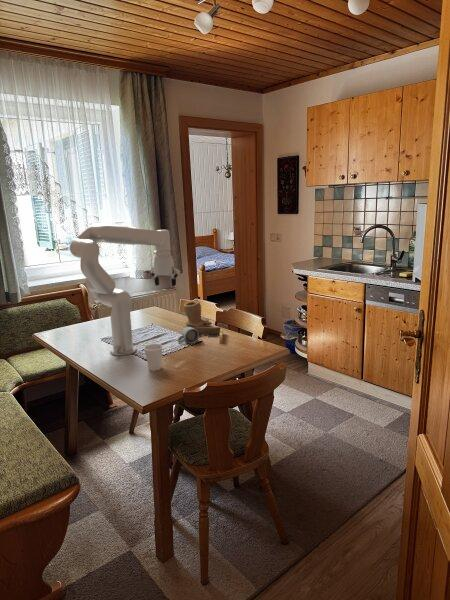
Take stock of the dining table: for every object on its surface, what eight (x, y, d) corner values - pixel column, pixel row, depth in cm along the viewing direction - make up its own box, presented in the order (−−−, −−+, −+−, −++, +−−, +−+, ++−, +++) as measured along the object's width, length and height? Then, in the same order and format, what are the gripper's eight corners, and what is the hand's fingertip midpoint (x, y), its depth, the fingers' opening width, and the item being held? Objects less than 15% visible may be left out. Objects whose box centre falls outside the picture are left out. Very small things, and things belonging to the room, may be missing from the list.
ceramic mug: (194, 337, 224) (193, 324, 222) (199, 342, 216) (198, 328, 215) (175, 341, 220) (174, 327, 218) (180, 345, 212) (179, 331, 211)
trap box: (221, 343, 213) (221, 336, 212) (183, 344, 213) (183, 337, 212) (222, 334, 229) (222, 327, 228) (187, 334, 229) (186, 327, 228)
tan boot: (180, 326, 246) (179, 301, 242) (195, 322, 254) (194, 298, 250) (197, 331, 235) (196, 305, 232) (212, 326, 243) (211, 301, 240)
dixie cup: (167, 368, 183) (166, 346, 181) (151, 373, 178) (150, 351, 175) (157, 363, 189) (156, 342, 187) (141, 367, 184) (140, 346, 181)
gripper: (145, 254, 215) (147, 286, 218) (175, 254, 209) (177, 287, 213) (152, 252, 221) (154, 283, 225) (181, 252, 216) (183, 284, 220)
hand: (165, 285), depth 219 cm, fingers open, 9 cm apart
